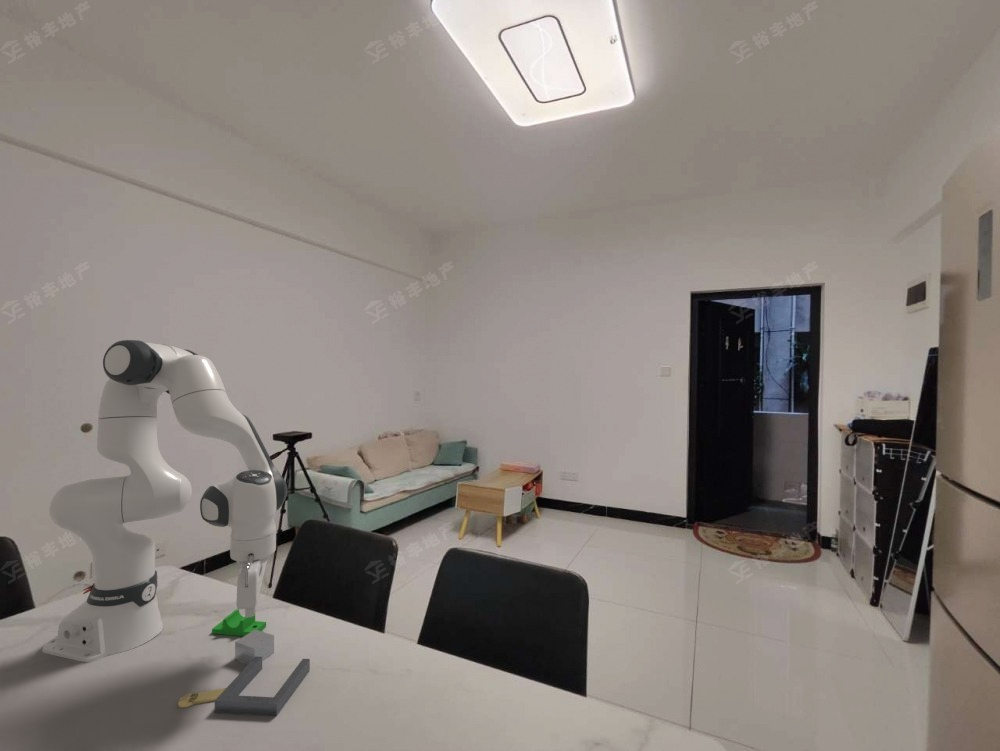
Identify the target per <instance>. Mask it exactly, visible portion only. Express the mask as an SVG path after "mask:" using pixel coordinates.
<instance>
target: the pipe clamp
mask: <svg viewBox="0 0 1000 751" xmlns="http://www.w3.org/2000/svg"><path fill="white" fill-rule="evenodd" d="M266 627H267V621H259V620H256V614H255V615H254V616H253V617H248V618H247V617H246V616H243V614H241V612H240V610H239V609H235V610H234V611H232V612H231V613H229V614H228V615H227V616H225V617H224V618H223V619H222V621H221V622H219V623H218V624H216V625H215V626H214V627H212V628H211V634H214V635H227V636H237V637H238V636H239V637H244V636H246V635H247V634H249V633H250V632H252V631H254V630H258V631H261V632H263V630H264V629H265V628H266Z"/></svg>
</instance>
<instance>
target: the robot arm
mask: <svg viewBox="0 0 1000 751" xmlns="http://www.w3.org/2000/svg"><path fill="white" fill-rule="evenodd" d="M102 366H103V371H104V373H105V375H106V376H107V378H108V380H107V381H106V382H105V385H104V386H103V390H102V393H101V397H100V402H99V407H98V420H97V436H96V437H97V438H96V440H97V442H96V449H97V452H98V453H99V454H100V456H101V457H103V458H105V459H107V460H109V461H113V462H117V463H119V464H123V465H126V466H127V467H128V468H129V470H130V471H129V472H130V474H129V475H126V476H125V475H123V476H114V477H104V478H92V479H87V480H83V481H82V480H81V481H78V482H74V483H70V484H67V485H66V484H65V485H64V486H62V487H61V488H60V489H59V490H58V491H57V492H56V493H55V494H54V495H53V497H52V499H51V500H50V504H49V509H48V510H49V511H48V512H49V516H50V519H51V520H52V521H53V523H54V524H55V525H57V527H59V528H61V529H64V530H67V531H69V532H71V533H73V534H74V535H75V536H76V535H77V536H78V538H80V539H81V540H82V541H83V542H84V543H85V544H86V545H87V547H88V549H89V550H90V553H91V556H92V562H93V574H94V582H93V583H92V585H89V586H88V587H86V588H84V589H82V591H84V592H83V593H82V594H83V595H85V594H87V593H89V595H88V596H87V599H86V600H85V601H84V602H83V603H81V604H80V605H78V606H77V607H76V608H74V609H73V610H72V611H71V612H69V613H68V614H67V615H65V617H63V619H61V621H60V623H59V624H58V630H57V635H56V636H54V637H53V638H52V639H50V640H49V641H48V642H46V644H45V645H44V646H43V647H42V650H41V651H42V653H43V654H46V655H51V656H57V657H60V658H65V659H70V660H72V661H73V660H74V661H79V662H83V663H92V662H95V661H98V660H102V659H103V658H105V657H109V656H113V655H116V654H121V653H124V652H127V651H130V650H132V649H136V648H137V647H140V646H141V645H144V644H146V643H148V642H149V641H151V640H152V639H154V638H156V636H158V635H159V634H160V633H161V632H162V630H163V629H164V623H163V620H162V615H161V614H162V613H161V611H160V609H159V608H160V607H159V602H158V595H157V589H158V572H157V571H158V570H156V544H155V542H154V541H153V540H152V538H150V536H149V537H148V536H146V535H144V534H141V533H137V532H133V531H131V530H128V529H127V528H126V527H125V525H124V524H125V523H126V524H127V523H132V522H138V521H139V522H140V521H147V520H155V519H159V518H163V517H168V516H171V515H173V514H177V513H180V512H182V511H184V509H185V508H186V507H187V506H188V504H189V503H190V500H191V499H192V496H193V487H192V483H191V481H190V480H189V478H187V476H185V475H184V474H183V473H181V472H179V471H177V470H176V469H174V468H172V467H171V466H170V465H169V464H168V462H167V461H166V460H165V459H164V457H163V456H162V454H161V451H160V447H159V442H158V441H159V440H158V401H159V398H160V396H161V395H163V394H164V393H167V394H168V395H169V397H170V400H171V405H172V408H173V413H174V415H175V418H176V420H177V422H178V424H179V425H180V427H182V428H183V429H184V430H186V431H187V432H188V433H192V434H194V435H197V436H201V437H205V438H213V439H218V440H221V441H224V442H227V443H230V444H231V445H232V446H234V447H235V448H236V449H237V450H238V452H239V453H240V455H241V457H242V459H243V461H244V463H245V466H246V467H247V469H248V470H244V471H242V472H239V473H237V474H236V475H235V476H234V477H233V478H231V479H229V480H226V481H221V482H219V483H218V482H217V483H215V484H213V485H210V486H209V487H207V488H206V490H205V491H204V492H203V494H202V496H201V499H200V501H199V502H200V503H199V509H200V510H199V511H200V515H201V518H202V520H203V521H205V522H206V523H208V524H209V525H211V526H215V527H218V528H225V527H229V528H230V539H229V541H230V542H229V543H230V545H229V547H230V550H229V555H230V559H231V560H233V561H235V562H236V564H237V565H238V566H240V567H239V570H238V573H237V580H236V581H237V582H236V583H237V584H236V608H237V609H238V610H239V611H240V610H244V611H245V612H244V613H245V614H244V615H245V616H246V617H247V618H248V617H253V616H254V615H255V616H256V611H257V610H256V609H257V607H256V606H257V605H258V601H259V597H260V594H261V589H262V586H263V585H262V584H263V580H264V576H265V573H266V572H265V571H266V568H267V563H268V560H269V559H270V556H271V555H273V554H274V553H275V551H276V550H277V526H276V523H275V516H276V513H277V511H278V510H279V509H280V508H281V507H282V506H283V504H284V502H285V501H286V499H287V495H288V492H289V491H288V485H287V483H286V480H285V479H284V477H283V476H282V475H281V473H280V472H279V470H278V469H277V468H276V466H275V465H274V463H273V460H272V458H271V457H270V454H269V452H268V451H267V449H266V447H265V445H264V442H263V441H262V439H261V437H260V435H259V433H258V431H257V429H256V427H255V426H254V424H253V423H252V421H251V419H249V417H248V416H247V415H245V414H244V413H241V412H240V411H239V410H238V409H237V408H236V407H235V406H234V405H233V403H232V402H231V400H230V398H229V396H228V394H227V390H226V388H225V384H224V382H223V380H222V378H221V376H220V373H219V372H218V370H217V368H216V366H215V364H214V362H212V360H211V359H210V358H208V357H207V356H204V355H199V354H198V353H196V352H194V351H191V350H189V349H182V348H180V347H177V346H173V345H170V344H165V343H154V342H144V341H142V340H137V339H124V340H118V341H115V342H114V343H113V344H111V345H110V346H109V347H108V349H107V350H106V351H105V353H104V355H103V360H102ZM245 616H244V617H245Z"/></svg>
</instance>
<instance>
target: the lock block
mask: <svg viewBox="0 0 1000 751" xmlns="http://www.w3.org/2000/svg"><path fill="white" fill-rule="evenodd" d="M274 654H275V635H274V634H271V633H267V632H264V631H258V630H254V631H252V632H250V633H249V634H247V635H246V636H241V638H239V639H238V640H236V641H235V643H234V660H235V661H237V662H240V663H243V664H245V665H248V664H249V663H250V662H251V661H252V660H253V659H254V658H255V657H262V662H264V661H265V660H266V659H268V658H270V657H271V656H272V655H274Z"/></svg>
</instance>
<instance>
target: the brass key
mask: <svg viewBox="0 0 1000 751" xmlns="http://www.w3.org/2000/svg"><path fill="white" fill-rule="evenodd" d="M226 688H227V687H223V688H219V689H218V688H217V689H211V690H207V691H202V692H194V691H193V692H190V693H189V692H188V693H186V694H184V695H183V696H181V697H180V698H179V699H178V703H177V706H178V708H180V709H185V708H189V707H191V706H195V705H200V704H206V703H210V702H215V700H216V699H217V698H218V696H219V695H220V694H221V693H222V692H223V691H224V690H225V689H226Z"/></svg>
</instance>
